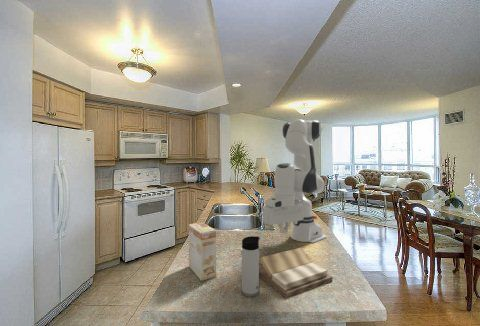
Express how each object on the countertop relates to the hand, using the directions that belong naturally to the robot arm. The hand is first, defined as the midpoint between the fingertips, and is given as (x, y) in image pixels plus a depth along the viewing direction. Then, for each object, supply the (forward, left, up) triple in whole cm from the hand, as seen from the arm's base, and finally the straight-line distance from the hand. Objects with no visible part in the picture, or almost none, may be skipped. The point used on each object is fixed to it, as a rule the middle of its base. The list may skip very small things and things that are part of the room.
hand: (284, 232), depth 98 cm
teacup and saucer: (+5, -27, -18) cm, 32 cm away
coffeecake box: (+32, -17, -17) cm, 40 cm away
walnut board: (0, +5, -17) cm, 18 cm away
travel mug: (+21, +6, -17) cm, 28 cm away
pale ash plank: (0, +10, -15) cm, 18 cm away
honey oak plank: (0, +1, -13) cm, 13 cm away
